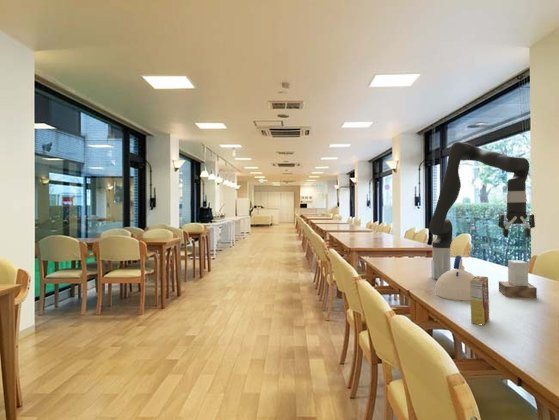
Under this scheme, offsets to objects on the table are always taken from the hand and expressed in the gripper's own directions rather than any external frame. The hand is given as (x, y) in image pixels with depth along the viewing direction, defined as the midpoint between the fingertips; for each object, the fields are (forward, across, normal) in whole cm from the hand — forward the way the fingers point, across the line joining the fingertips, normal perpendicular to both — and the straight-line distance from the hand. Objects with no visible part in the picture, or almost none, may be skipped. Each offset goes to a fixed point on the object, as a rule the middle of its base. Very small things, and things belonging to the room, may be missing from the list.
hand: (516, 237), depth 173 cm
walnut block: (+26, 0, 0) cm, 26 cm away
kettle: (+26, +26, +4) cm, 37 cm away
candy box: (+26, +31, +44) cm, 60 cm away
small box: (+22, 0, 0) cm, 22 cm away
